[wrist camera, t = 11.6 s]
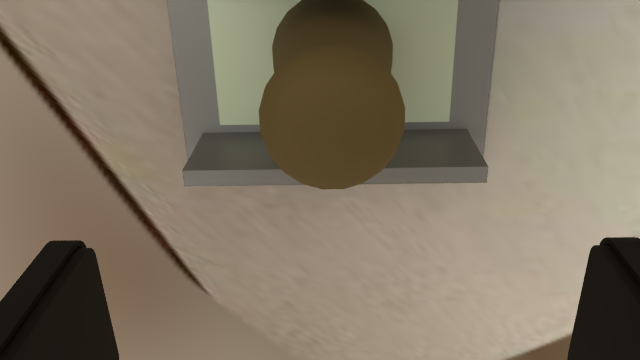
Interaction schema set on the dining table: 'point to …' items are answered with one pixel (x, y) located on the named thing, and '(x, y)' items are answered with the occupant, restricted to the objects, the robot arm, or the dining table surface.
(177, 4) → the rack
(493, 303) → the dining table surface
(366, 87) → the brown gourd-shaped form
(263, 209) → the dining table surface
